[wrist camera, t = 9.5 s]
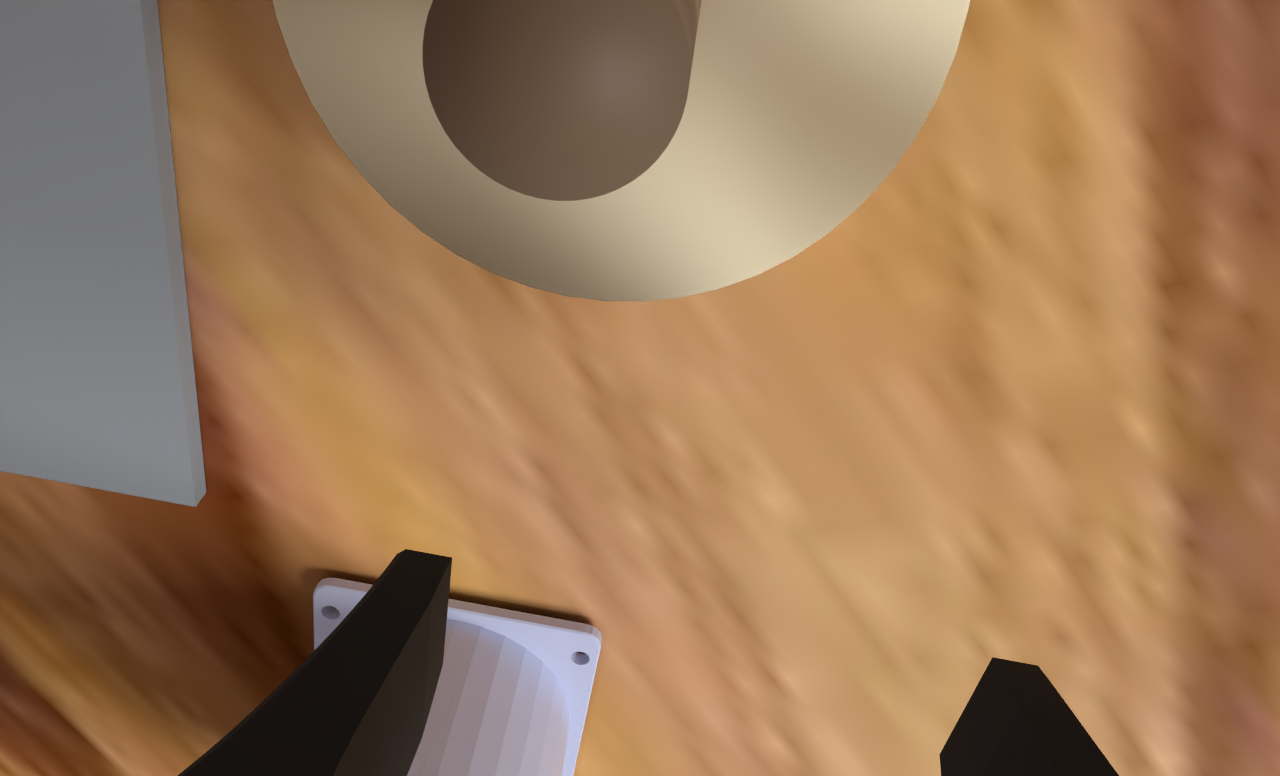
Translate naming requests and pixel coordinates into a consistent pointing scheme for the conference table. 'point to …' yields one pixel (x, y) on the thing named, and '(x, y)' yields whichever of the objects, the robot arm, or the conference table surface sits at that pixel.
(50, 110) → the mat
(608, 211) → the lid
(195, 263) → the conference table surface
